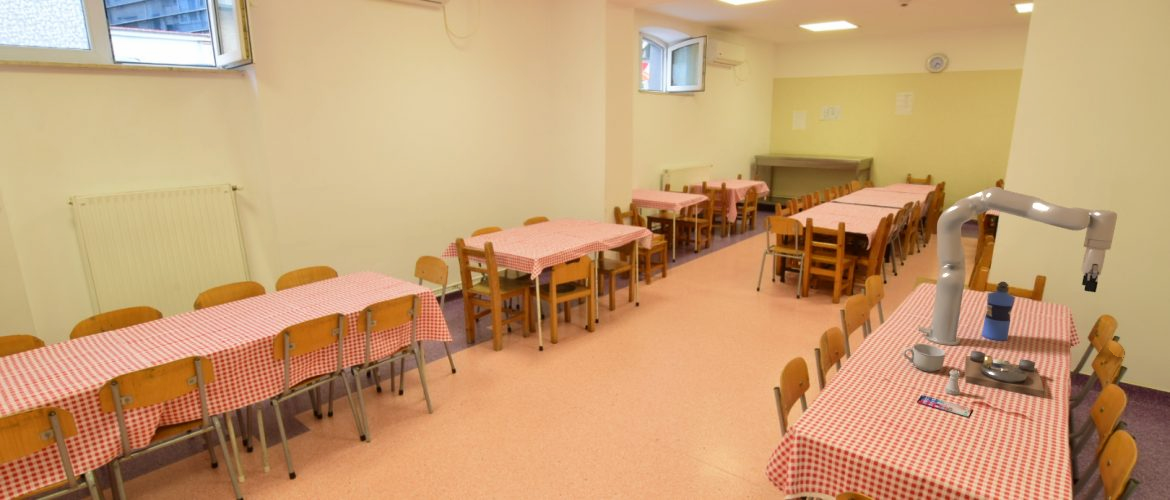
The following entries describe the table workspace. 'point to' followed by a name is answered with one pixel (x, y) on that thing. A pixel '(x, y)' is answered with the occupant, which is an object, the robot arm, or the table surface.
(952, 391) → the rook chess piece
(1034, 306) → the table surface
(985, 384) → the levelling base
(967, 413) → the smartphone
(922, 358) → the teacup
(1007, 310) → the water bottle
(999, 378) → the silver metal dome
